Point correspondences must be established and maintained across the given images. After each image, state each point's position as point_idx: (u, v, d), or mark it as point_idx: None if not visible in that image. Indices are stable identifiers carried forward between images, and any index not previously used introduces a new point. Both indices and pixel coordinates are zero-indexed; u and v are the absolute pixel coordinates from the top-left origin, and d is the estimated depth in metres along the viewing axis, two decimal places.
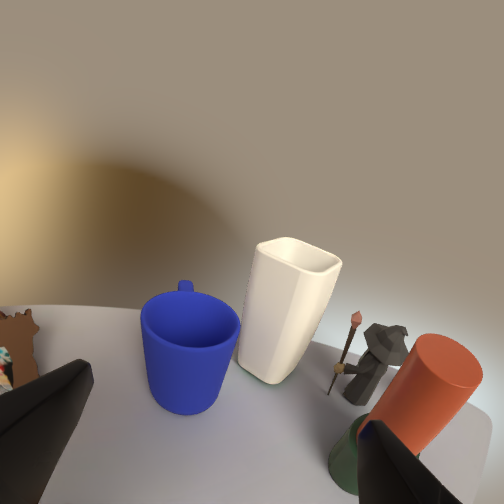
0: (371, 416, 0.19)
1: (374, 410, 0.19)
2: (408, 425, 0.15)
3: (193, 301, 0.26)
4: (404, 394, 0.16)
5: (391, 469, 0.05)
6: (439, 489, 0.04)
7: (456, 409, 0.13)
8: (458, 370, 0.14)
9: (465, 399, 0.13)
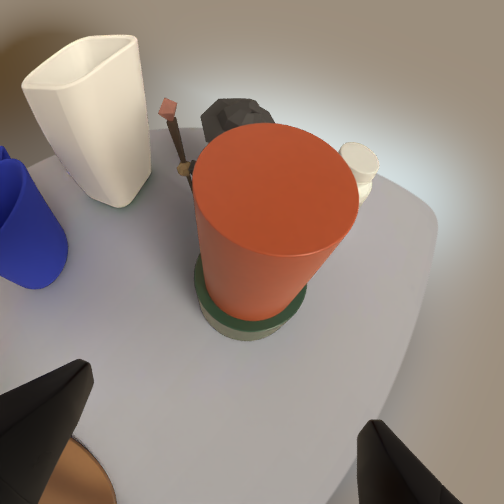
0: None
1: None
2: (230, 288, 0.13)
3: None
4: (202, 244, 0.12)
5: (391, 469, 0.05)
6: (439, 489, 0.04)
7: (304, 274, 0.11)
8: (289, 208, 0.10)
9: (314, 263, 0.10)
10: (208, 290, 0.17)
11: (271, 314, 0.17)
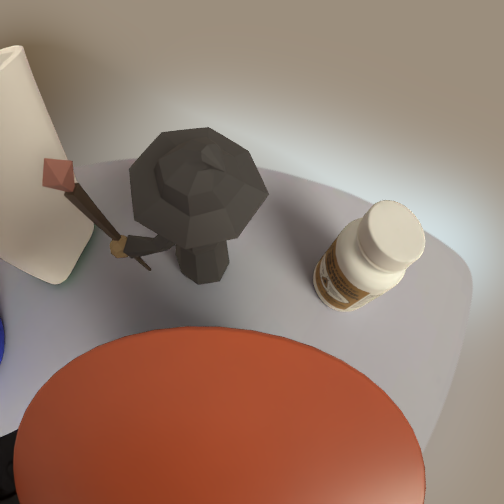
0: None
1: None
2: None
3: None
4: None
5: None
6: None
7: None
8: None
9: None
10: None
11: None
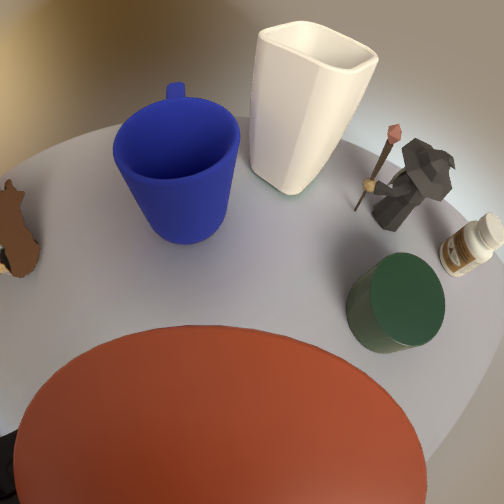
0: None
1: None
2: None
3: (182, 109, 0.19)
4: None
5: None
6: None
7: None
8: None
9: None
10: None
11: None
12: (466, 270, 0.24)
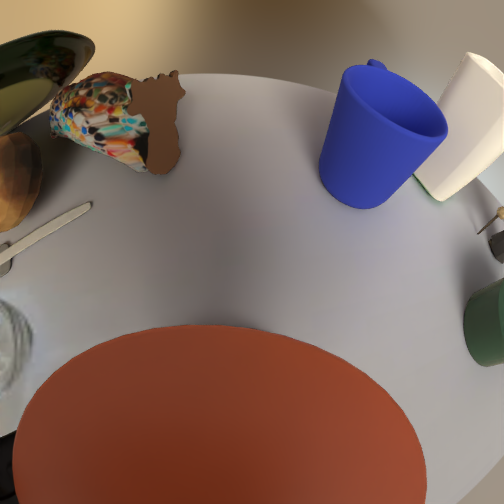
0: None
1: None
2: None
3: (392, 83, 0.18)
4: None
5: None
6: None
7: None
8: None
9: None
10: None
11: None
12: None
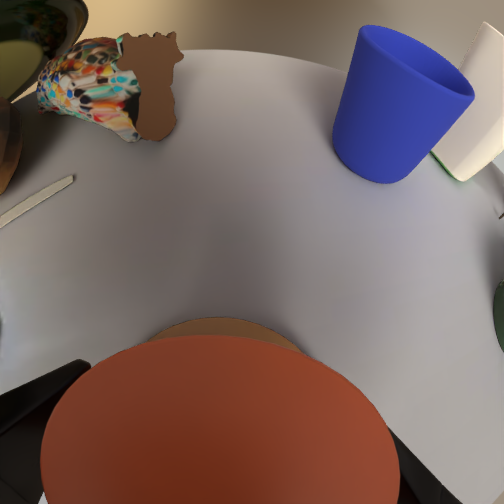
0: None
1: None
2: None
3: (410, 47, 0.14)
4: None
5: None
6: (439, 489, 0.04)
7: None
8: None
9: None
10: None
11: None
12: None
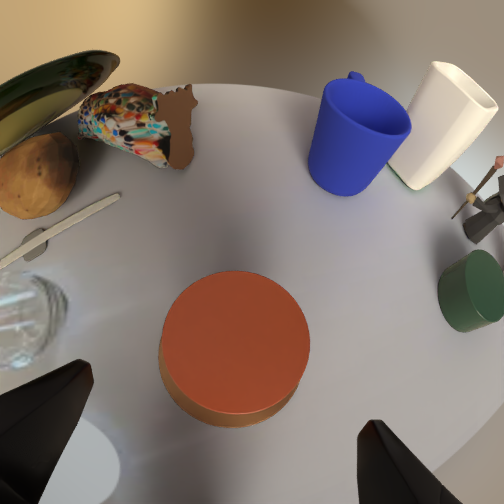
0: None
1: None
2: None
3: (367, 92, 0.23)
4: None
5: (391, 469, 0.05)
6: (439, 489, 0.04)
7: None
8: (243, 372, 0.11)
9: None
10: None
11: None
12: None
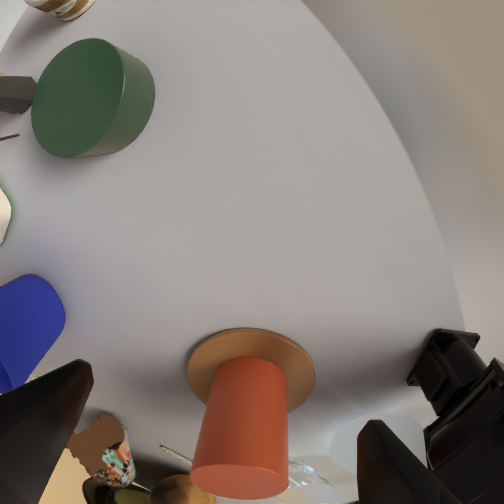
0: None
1: None
2: None
3: None
4: None
5: (391, 469, 0.05)
6: (439, 489, 0.04)
7: (279, 446, 0.15)
8: (257, 482, 0.13)
9: (278, 457, 0.14)
10: None
11: (281, 380, 0.21)
12: None
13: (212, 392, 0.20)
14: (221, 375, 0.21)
